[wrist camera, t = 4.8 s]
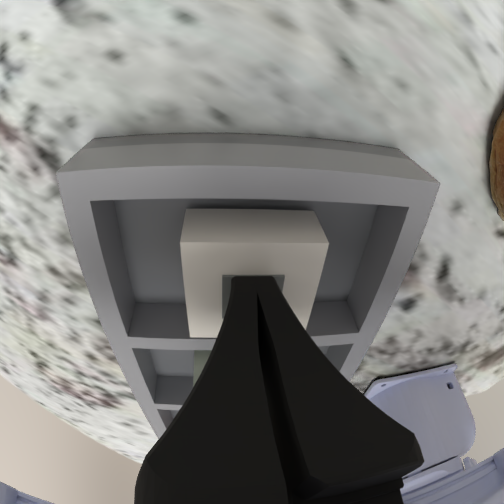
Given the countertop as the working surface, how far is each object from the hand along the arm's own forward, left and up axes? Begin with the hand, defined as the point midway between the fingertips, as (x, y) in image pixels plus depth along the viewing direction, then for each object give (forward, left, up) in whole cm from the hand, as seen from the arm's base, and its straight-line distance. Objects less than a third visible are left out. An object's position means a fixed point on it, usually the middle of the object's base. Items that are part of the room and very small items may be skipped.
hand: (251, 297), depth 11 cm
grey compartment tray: (0, +7, -4) cm, 7 cm away
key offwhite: (0, 0, -2) cm, 2 cm away
